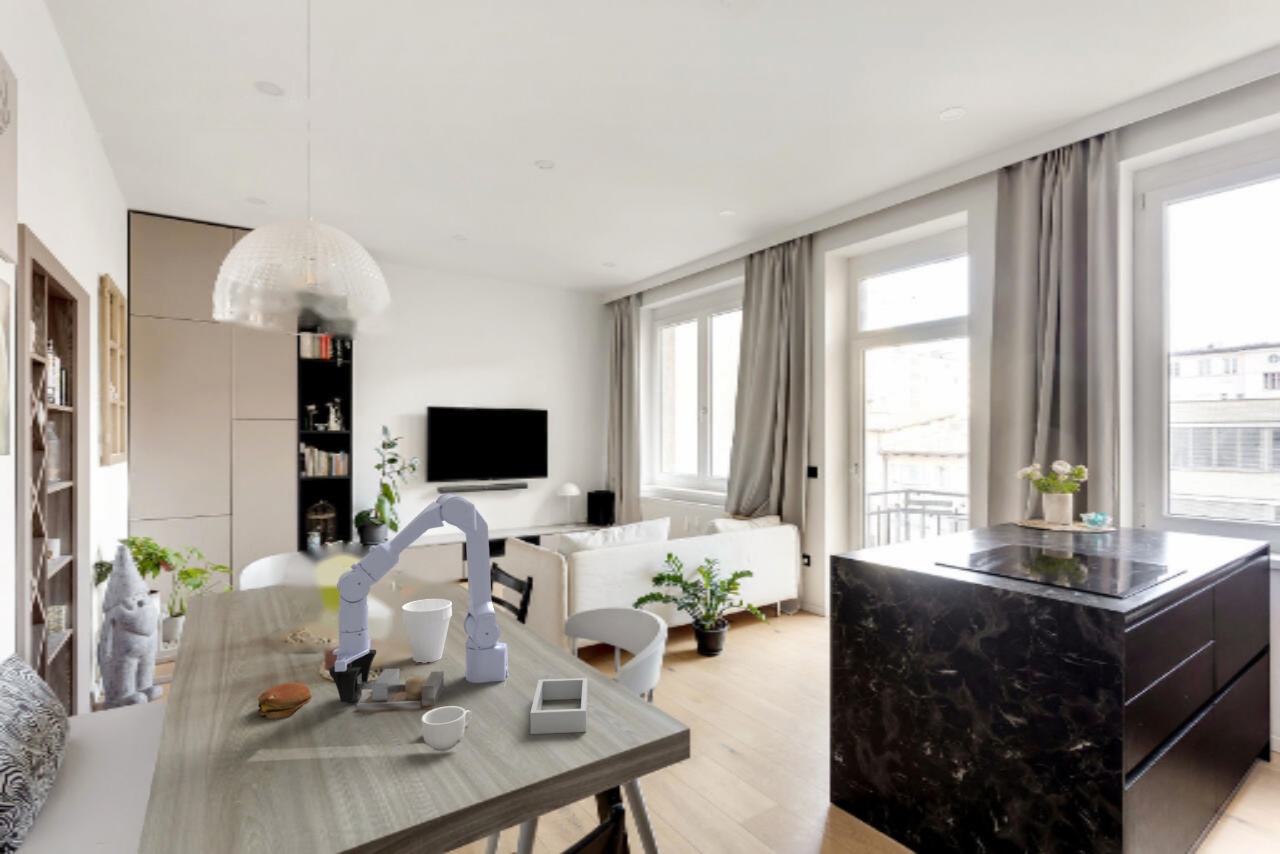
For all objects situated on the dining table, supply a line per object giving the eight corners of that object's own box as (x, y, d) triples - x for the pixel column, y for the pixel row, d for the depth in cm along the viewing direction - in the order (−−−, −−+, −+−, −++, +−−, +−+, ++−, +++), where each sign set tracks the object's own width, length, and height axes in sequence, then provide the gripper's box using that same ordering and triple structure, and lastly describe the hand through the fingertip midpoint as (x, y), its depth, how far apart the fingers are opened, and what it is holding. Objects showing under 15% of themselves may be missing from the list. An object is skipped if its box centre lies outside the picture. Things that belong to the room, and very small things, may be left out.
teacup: (437, 759, 112) (437, 728, 112) (413, 746, 117) (413, 716, 117) (484, 738, 120) (484, 709, 120) (459, 726, 125) (459, 698, 125)
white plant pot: (432, 669, 156) (432, 613, 156) (391, 664, 160) (390, 609, 160) (462, 652, 167) (461, 600, 168) (422, 648, 171) (422, 597, 171)
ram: (399, 689, 139) (399, 666, 139) (387, 705, 131) (387, 680, 131) (355, 691, 138) (354, 668, 138) (340, 707, 130) (339, 682, 130)
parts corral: (587, 696, 138) (587, 677, 139) (586, 731, 122) (585, 710, 122) (538, 698, 138) (538, 679, 138) (530, 734, 121) (530, 712, 121)
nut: (427, 694, 137) (427, 675, 137) (422, 701, 133) (422, 682, 133) (408, 694, 137) (408, 675, 137) (403, 702, 133) (402, 683, 133)
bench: (445, 693, 141) (445, 667, 141) (431, 716, 129) (431, 689, 129) (376, 695, 140) (376, 670, 140) (355, 719, 128) (355, 692, 128)
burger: (317, 698, 139) (317, 677, 139) (303, 717, 130) (302, 694, 130) (267, 703, 137) (267, 681, 137) (250, 722, 128) (249, 699, 128)
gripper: (347, 619, 141) (347, 681, 141) (318, 640, 127) (319, 709, 127) (380, 618, 142) (380, 679, 142) (355, 639, 127) (355, 707, 127)
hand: (354, 693), depth 134 cm, fingers open, 7 cm apart
